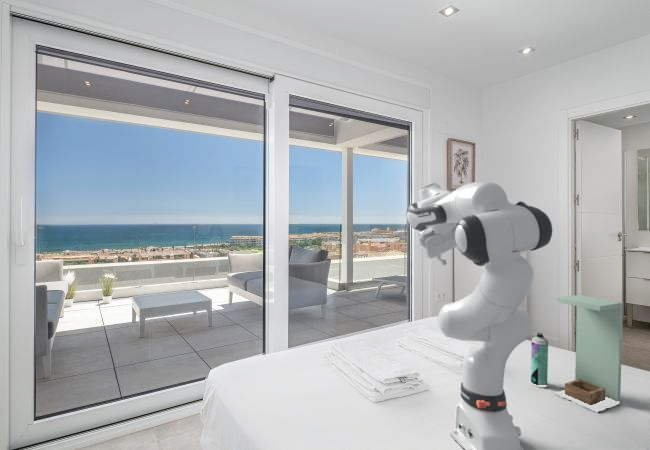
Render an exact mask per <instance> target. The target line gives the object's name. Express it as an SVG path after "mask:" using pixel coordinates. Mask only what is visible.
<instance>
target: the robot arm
mask: <svg viewBox="0 0 650 450" xmlns="http://www.w3.org/2000/svg"><path fill="white" fill-rule="evenodd" d="M418 196H419V200H420V201H417V202H414V203H410V204H409V206H408V207H407V210H406V212H405V214H406V219H407V222H408V224H409V225H410V226H411V228H412V229H414V230H416V231H419V232H423V231H425V230H427V229H428V228H429V229H430V231H428V232H426V233H424V234H422V235H421V237H420V239H419V241H420V245H421V246H422V250H423V255H424V257H425V258H427V259H433V258H434V259H436V260H438V261H439V262H440V265H441V266H446V265H447V263H448V262H447V261H446V259H443V258H442V254H445V253H446V252H448V251H450V250H453V249H455V248H457V249H458V251H459V252H460V253H461V255H462V256H464V257H465V258H466V259H468V260H469V261H471V262H473V264H474V265H476V266H478V267H483V266H484V271H483V273H482V275H481V277H480V279H479V282H478V283H477V285H476V287H475V288H474V290H473V291H472V292H471V293H469V294H468V295H466V296H465V297H463V298H461V299H459V300H457V301H454V302H449V303H446V304H444V305H443V306H442V307H441V309H440V310H439V313H438V317H437V323H438V324H437V325H438V326H439V329H440V331H441V332H442V334H443V335H444V336H445V337H447V338H450V339H455V340H458V341H464V342H465V341H466V342H482V343H481V345H480V346H478V348H476V349H474V350H472V351H470V352H468V353H467V354H466V355H465V357H464V358H463V360H462V382H461V383H460V388H459V389H460V390H459V391H460V397H461V398H460V399H459V401H458V403H456V404H455V405H456V406H455V412H454V426H453V427H451V428H450V429H449V435H450V436H451V438H453V439H454V438H455V439H454V441H455V440H456V441H457V442H459V443H460V444H461V445H462V446H463V448H465V449H466V450H524V448H523V446H522V444H521V442H520V438H519V437H520V436H521V435H522V431H521V428H520V427H519V426H516V425H515V424H514V421H513V419H514V418H513V415H511V414H510V413H509V411H508V408H507V406H508V404H507V403H508V402H507V396H506V393H505V390H504V378H505V369H506V364H507V361H508V359H509V357H510V355H512V353H513V352H514V350H515V349H516V348H517V346H519V345H520V344H522V343H523V342H525V341H527V339H529V337H530V335H531V334H532V331H533V322H532V321H533V320H532V318H531V316H530V314H529V312H528V311H527V310H526V309H524V307H521V306H522V304H523V302H524V301H525V299H526V298H527V296H528V294H529V292H530V291H531V287H532V284H533V279H534V270H533V267H532V264H531V263H530V261H528V260H527V259H526V257H524V256H522V255H521V253H523V252H528V251H536V250H538V249H541V248H543V247H545V246H547V245H549V243H550V242H551V239H552V236H553V224H552V221H551V219H550V217H549V216H548V214H547V213H546V212H544V211H543V210H541V209H540V208H538V207H536V206H532V205H527V203H525V202H524V201H518V202H516V204H514V203H513V204H512V203H510V202H509V199H508V196H507V193H506V191H505V190H504V188H503V187H502V186H500V185H499V184H497V183H495V182H492V181H491V182H490V181H474V182H469V183H466V184H464V185H462V186H460V187H458V188H457V189H455V190H452V191H450V190H448V191H446V190H445V189H442V188H441V186H440V184H439V183H437V182H436V183H431V184H428V185H426V186H424V187H422V188H420V189H419V191H418ZM456 441H455V442H456ZM463 448H462V449H463Z"/></svg>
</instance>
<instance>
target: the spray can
mask: <svg viewBox="0 0 650 450" xmlns="http://www.w3.org/2000/svg"><path fill="white" fill-rule="evenodd" d="M543 334H544V333H543V332H537V334H536V335H535V336H533V337H532V338H531V353H530V354H531V357H530V358H531V359H530V360H531V363H530V364H531V365H530V383H531V382H532V383H533V384H536V385H547V386H548V372H549V371H548V370H549V369H548V367H549V361H548V360H549V340H548V339H546V338H545V337H544V335H543Z"/></svg>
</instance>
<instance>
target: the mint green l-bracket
mask: <svg viewBox="0 0 650 450" xmlns="http://www.w3.org/2000/svg"><path fill="white" fill-rule="evenodd" d="M556 299H557V300H556V302H557V303H561V304H564V305H568V306H576V328H575V329H576V333H575V334H576V335H575V336H576V337H575V372H574V373H575V375H574V379H575V380H578V379H580V380H583V381H585V382H588V383H591V384H593V385H596V386H599V387H601V388H604V389H605V397H608V398H611V399H613V400H615V401H621V389H622V388H621V387H622V386H621V385H622V384H621V383H622V351H623V350H622V348H623V346H622V345H623V314H624V313H623V311H624V307H623V306H624V302H623V301H616V300H611V299H606V298H600V297H595V296H591V295H590V296H588V295H584V294H576V295H567V296H560V297H557V298H556Z"/></svg>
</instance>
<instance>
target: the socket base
mask: <svg viewBox="0 0 650 450" xmlns="http://www.w3.org/2000/svg"><path fill="white" fill-rule="evenodd" d="M564 389H565V394H566V395H568V396H571V397H573V398H575V399H578V400H580V401H582V402H584V403H587V404H589V405H593V404H596V403H598V402H600V401H603V400H605V389H604V388H601V387H599V386H596V385H593V384H591V383H588V382H585V381H583V380H580V379H578V380H572V381H568V382H565V383H564Z"/></svg>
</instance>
